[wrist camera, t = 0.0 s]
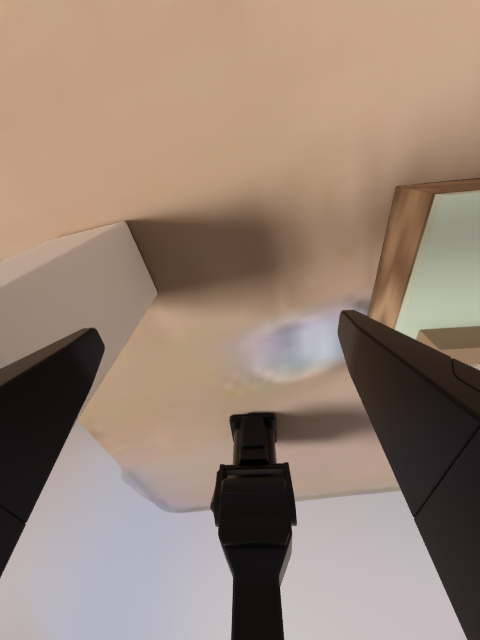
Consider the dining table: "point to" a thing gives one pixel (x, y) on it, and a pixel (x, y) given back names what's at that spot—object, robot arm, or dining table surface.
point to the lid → (447, 280)
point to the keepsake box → (406, 244)
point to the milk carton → (74, 294)
